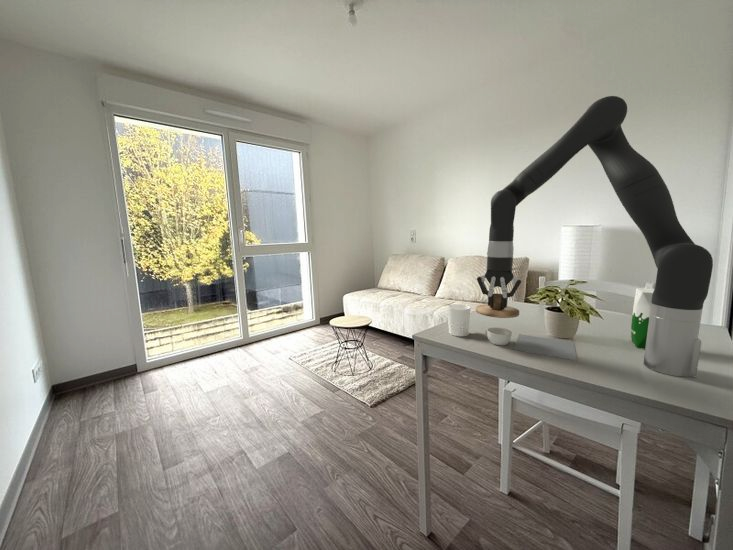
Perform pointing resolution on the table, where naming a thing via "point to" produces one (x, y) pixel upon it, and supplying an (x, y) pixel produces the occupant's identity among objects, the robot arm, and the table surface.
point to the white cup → (458, 319)
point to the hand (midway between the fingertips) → (497, 307)
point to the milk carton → (641, 316)
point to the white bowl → (498, 335)
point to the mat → (546, 346)
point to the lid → (497, 309)
